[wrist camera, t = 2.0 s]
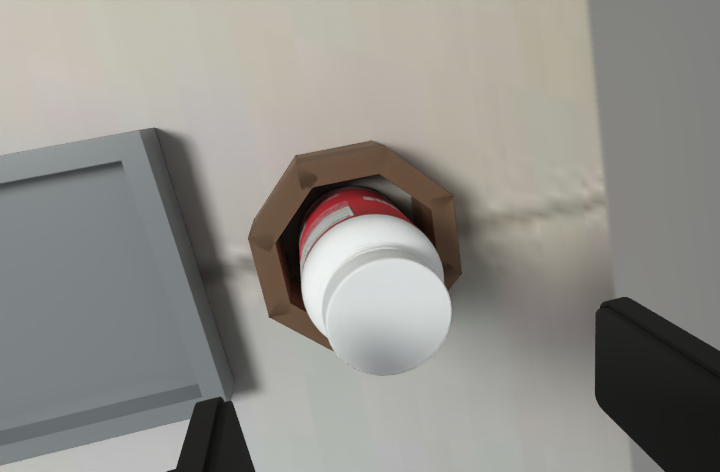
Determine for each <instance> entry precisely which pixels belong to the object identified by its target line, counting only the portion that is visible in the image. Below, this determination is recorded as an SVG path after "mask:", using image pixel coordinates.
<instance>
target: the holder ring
mask: <svg viewBox="0 0 720 472" xmlns="http://www.w3.org/2000/svg"><path fill="white" fill-rule="evenodd" d="M376 174H381V175H382V176H383V177H385V178H386V179H388V180H389V181H391V182H392V183H393V184H395V185H396V186H398V187H399V188H401V189H402V190H404V191H405V192H406V193H408V194H409V195H411V199H412V206H413V213H414V220H415V226H416V227H417V228H418V229H419V230H420V231H421V232H422V233H423V234H424V235H425V236H426V237H427V238H428V239H429V240H430V242H431V243H432V245H433V246H434V248H435V249H436V251H437V253H438V255H439V258H440V260H441V263H442V267H443V273H444V285H445V287H446V289H447V291H449V289H450V288H451V287H452V285H453V284H454V283H455V281H456V280H457V279H458V277H459V276H460V275H461V274H462V272H461V263H460V254H459V245H458V236H457V227H456V218H455V209H454V200H453V195H452V194H451V193H449V192H447V191H446V190H444V189H443V188H442V187H440V186H439V185H437V184H436V183H435V182H433V181H432V180H431V179H429V178H428V177H426V176H425V175H424V174H422V173H421V172H419V171H418V170H417V169H415V168H414V167H412V166H411V165H410V164H408V163H407V162H405V161H404V160H403V159H401V158H400V157H399V156H397V155H396V154H394V153H393V152H392V151H390V150H389V149H387V148H386V147H385V146H383V145H381V144H378V143H376V142H373V141H368V142H363V143H357V144H352V145H347V146H342V147H337V148H332V149H327V150H322V151H316V152H311V153H306V154H301V155H296V156H295V157H294V159H293V160H292V162H291V163H290V165H289V167H288V168H287V170H286V171H285V173H284V174H283V176H282V177H281V179H280V180H279V182H278V184H277V185H276V187H275V188H274V190H273V191H272V193H271V194H270V196H269V197H268V199H267V200H266V202H265V204H264V205H263V207H262V208H261V210H260V211H259V213H258V214H257V216H256V217H255V218H254V221H253V224H252V227H251V230H250V233H249V237H248V240H249V244H250V247H251V251H252V255H253V258H254V262H255V266H256V270H257V273H258V277H259V281H260V285H261V288H262V292H263V296H264V299H265V303H266V307H267V311H268V314H269V318H272V319H274V320H275V321H277V322H279V323H281V324H283V325H285V326H287V327H289V328H291V329H292V330H294V331H296V332H298V333H300V334H302V335H304V336H306V337H307V338H309V339H311V340H313V341H315V342H317V343H319V344H321V345H323V346H324V347H326V348H328V349H330V350H332V351H334V350H333V348H332V346H331V345H330V342H329V340H328V338H327V337H326V336H324V335H323V334H322V333H321V332H320V331H319V330H318V328H317V327H316V326H315V325H314V323H313V322H312V320H311V319H310V317H309V315H308V313H307V310H306V308H305V305H304V301H303V296H302V291H301V281H300V280H298V279H296V278H295V277H293V276H291V275H290V272H289V268H288V264H287V260H286V256H285V252H284V248H283V243H282V239H281V234H282V232H283V231H284V229H285V228H286V226H287V225H288V223H289V222H290V220H291V219H292V217H293V216H294V214H295V213H296V211H297V210H298V208H299V207H300V205H301V204H302V202H303V201H304V199H305V198H306V196H307V195H308V193H309V192H310V190H311V189H312V187H317V186H321V185H326V184H331V183H336V182H341V181H346V180H351V179H356V178H361V177H366V176H371V175H376ZM334 352H335V351H334Z"/></svg>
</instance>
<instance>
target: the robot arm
mask: <svg viewBox="0 0 720 472" xmlns="http://www.w3.org/2000/svg"><path fill="white" fill-rule="evenodd" d="M595 397H596V400H597V402H598V404H599V406H600V407H601V408H602V410H603V411H604V412H605V413H606V414H607V415H608V416H609V417H610V418H611V419H612V420H613V421H614V422H615V423H616V424H617V425H618V426H619V427H620V428H621V429H623V430H624V431H625V432H626V433H627V434H628V435H629V436H630V437H631V438H632V439H633V440H634V441H635V442H636V443H637V444H638V445H639V446H640V447H641V448H642V449H643V450H644V451H645V452H646V453H647V454H648V455H649V456H650V457H651V458H652V459H653V460H654V461H655V462H656V463H657V464H658V465H659V466H660V467H661V468H662V469H663V470H664V471H665V472H720V351H718V350H717V349H715V348H714V347H712V346H710V345H709V344H707V343H705V342H703V341H702V340H700V339H698V338H697V337H695V336H693V335H691V334H690V333H688V332H687V331H685V330H683V329H681V328H680V327H678V326H676V325H675V324H673V323H671V322H669V321H668V320H666V319H664V318H663V317H661V316H659V315H657V314H656V313H654V312H652V311H651V310H649V309H647V308H646V307H644V306H642V305H641V304H639V303H637V302H635V301H634V300H632V299H630V298H628V297H622V298H618V299H614V300H610V301H605V302H603V303H602V304H601V306H600V309H598V310H597V312H596V332H595ZM167 472H255V469H254V466H253V463H252V460H251V457H250V454H249V451H248V448H247V445H246V442H245V439H244V436H243V433H242V430H241V427H240V424H239V420H238V417H237V414H236V411H235V408H234V405H233V403H232V401H226V402H224V399H223V398H222V397H216V398H212V399H208V400H204V401H200V402H197V403H196V404H195V406H194V409H193V413H192V416H191V420H190V423H189V426H188V430H187V433H186V437H185V440H184V443H183V447H182V450H181V454H180V457H179V460H178V464H177V467H176V469H174V470H170V471H167Z"/></svg>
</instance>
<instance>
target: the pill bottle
mask: <svg viewBox="0 0 720 472" xmlns="http://www.w3.org/2000/svg"><path fill="white" fill-rule="evenodd" d="M299 252H300V271H301V291H302V296H303V301H304V305H305V308H306V310H307V313H308V315H309V317H310V319H311V320H312V322H313V323H314V325H315V326H316V327H317V328H318V330H319V331H320V332H321V333H322V334H323V335H324V336H326V337H327V338H328V340H329V342H330V345H331V346H332V348H333V350H334V351H335V353H336V354H337V355H338V357H339V358H340V359H341V360H342V361H344V362H345V363H346V364H347V365H349V366H350V367H352V368H354V369H356V370H358V371H361V372H364V373H367V374H372V375H379V376H386V375H395V374H400V373H404V372H407V371H409V370H412V369H414V368H416V367H418V366H420V365H421V364H423V363H424V362H426V361H427V360H428V359H429V358H431V357H432V356H433V355H434V354H435V353H436V351H437V350H438V349H439V348H440V346H441V345H442V343H443V342H444V340H445V338H446V336H447V334H448V331H449V327H450V324H451V317H452V306H451V300H450V296H449V294H448V291H447V289H446V287H445V285H444V273H443V267H442V263H441V260H440V258H439V255H438V253H437V251H436V249H435V248H434V246H433V245H432V243H431V242H430V240H429V239H428V238H427V237H426V236H425V235H424V234H423V233H422V232H421V231H420V230H419V229H418V228H417V227H416V226H415V225H414V224H413V223H412V222H411V221H410V220H409V219H408V218H407V217H406V216H405V215H403V214H402V213H401V212H400V211H399V210H398V209H397V208H396V207H395V206H394V205H393V204H392V203H391V202H390V201H389V200H387V199H386V198H385V197H384V196H382V195H381V194H379V193H377V192H375V191H373V190H371V189H368V188H364V187H358V186H347V187H340V188H337V189H334V190H331V191H329V192H327V193H325V194H324V195H322V196H321V197H319V198H318V199H317V200H316V201H315V202H314V203H313V204H312V205H311V206H310V208H309V209H308V210H307V212H306V214H305V216H304V218H303V220H302V223H301V227H300V232H299Z"/></svg>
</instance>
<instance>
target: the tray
mask: <svg viewBox="0 0 720 472" xmlns="http://www.w3.org/2000/svg"><path fill="white" fill-rule="evenodd" d="M233 388H234V380H233V377H232V374H231V371H230V367H229V364H228V361H227V358H226V355H225V351H224V348H223V345H222V342H221V339H220V335H219V332H218V329H217V326H216V323H215V319H214V316H213V313H212V310H211V307H210V303H209V300H208V297H207V294H206V291H205V287H204V284H203V281H202V278H201V275H200V272H199V268H198V265H197V262H196V259H195V256H194V252H193V249H192V246H191V243H190V240H189V236H188V233H187V230H186V227H185V224H184V220H183V217H182V214H181V211H180V208H179V204H178V201H177V198H176V195H175V192H174V188H173V185H172V182H171V179H170V176H169V172H168V169H167V166H166V163H165V160H164V156H163V153H162V150H161V147H160V144H159V140H158V137H157V134H156V131H155V128H149V129H143V130H137V131H131V132H126V133H120V134H115V135H110V136H104V137H99V138H93V139H88V140H82V141H77V142H71V143H66V144H61V145H55V146H50V147H44V148H39V149H33V150H28V151H23V152H17V153H12V154H6V155H1V156H0V466H1V465H5V464H9V463H13V462H17V461H21V460H25V459H29V458H33V457H37V456H41V455H45V454H49V453H53V452H57V451H61V450H65V449H69V448H73V447H78V446H82V445H86V444H90V443H94V442H98V441H102V440H106V439H110V438H114V437H118V436H122V435H126V434H130V433H134V432H138V431H142V430H146V429H150V428H154V427H158V426H163V425H167V424H171V423H175V422H179V421H183V420H187V419H191V416H192V413H193V409H194V406H195V404H196V403H197V402H200V401H204V400H208V399H212V398H216V397H222V398H223V399H224V402H226V401H231V398H232V393H233Z"/></svg>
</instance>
